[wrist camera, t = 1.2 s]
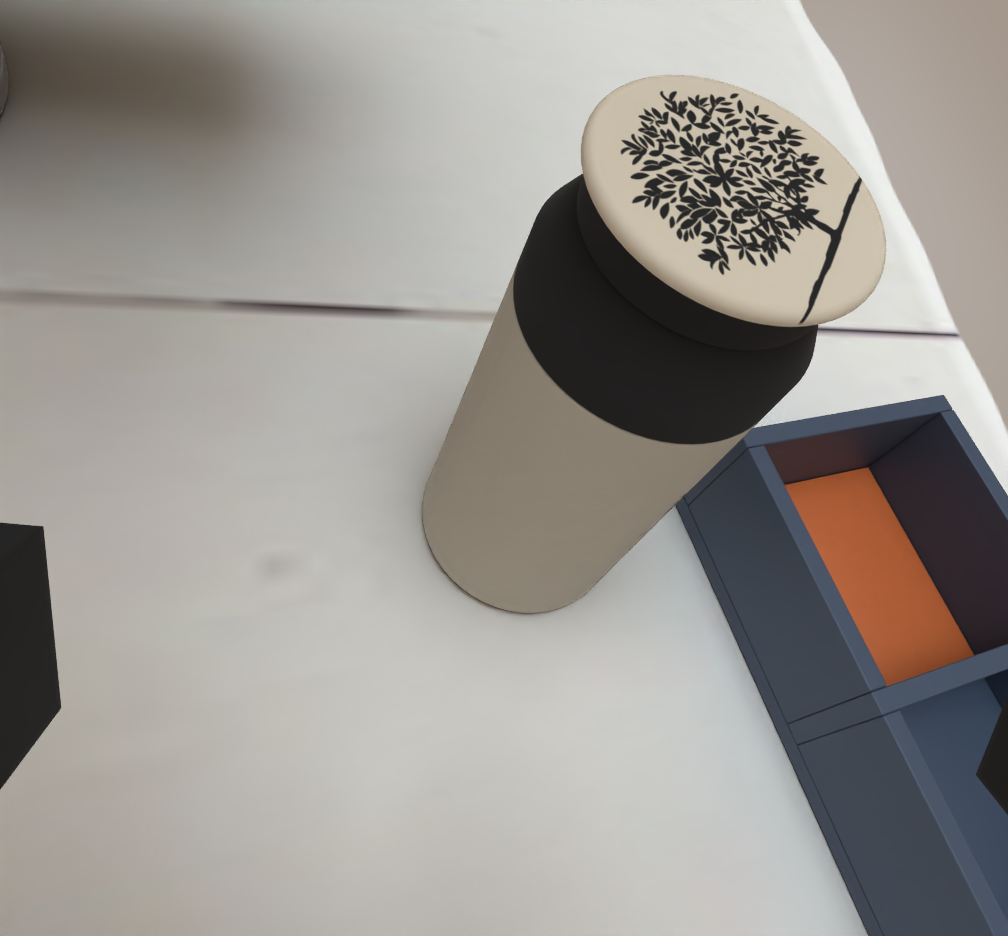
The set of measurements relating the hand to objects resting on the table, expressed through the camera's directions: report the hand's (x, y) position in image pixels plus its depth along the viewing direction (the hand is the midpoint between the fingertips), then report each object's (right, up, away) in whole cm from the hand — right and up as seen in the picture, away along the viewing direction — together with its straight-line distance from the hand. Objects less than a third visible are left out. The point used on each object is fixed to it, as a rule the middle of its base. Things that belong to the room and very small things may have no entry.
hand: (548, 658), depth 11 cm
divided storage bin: (+15, -7, +23) cm, 29 cm away
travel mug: (0, 0, +23) cm, 23 cm away
